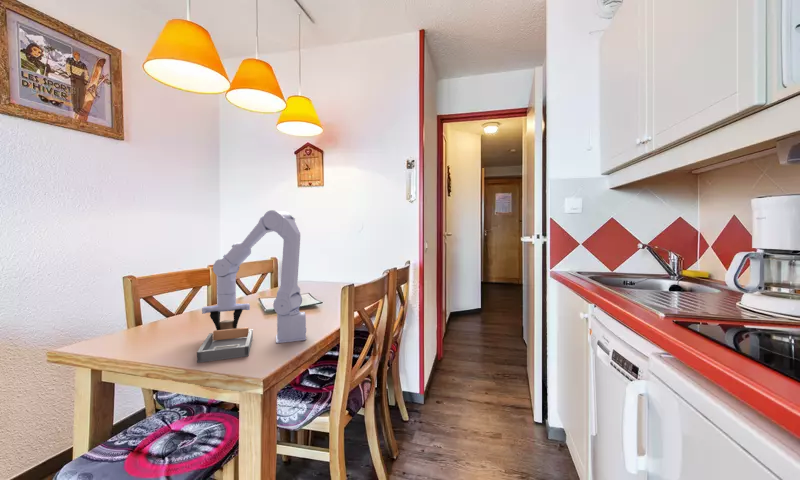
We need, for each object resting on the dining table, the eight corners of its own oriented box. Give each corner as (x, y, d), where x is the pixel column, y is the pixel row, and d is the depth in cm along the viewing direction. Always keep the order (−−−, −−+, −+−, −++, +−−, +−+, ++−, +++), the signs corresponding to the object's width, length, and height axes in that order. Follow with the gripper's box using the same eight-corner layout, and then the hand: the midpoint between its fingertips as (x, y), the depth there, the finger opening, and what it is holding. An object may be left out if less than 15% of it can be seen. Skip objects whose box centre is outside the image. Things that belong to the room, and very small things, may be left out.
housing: (252, 337, 108) (252, 329, 108) (248, 356, 92) (248, 346, 92) (209, 342, 103) (209, 333, 103) (197, 362, 87) (197, 352, 87)
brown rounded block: (234, 333, 112) (234, 319, 112) (233, 337, 108) (233, 322, 108) (220, 334, 111) (220, 320, 110) (218, 338, 106) (218, 324, 106)
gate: (248, 335, 107) (248, 327, 107) (248, 336, 106) (248, 328, 106) (213, 339, 103) (213, 330, 103) (213, 340, 103) (213, 331, 102)
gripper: (250, 289, 115) (250, 326, 116) (205, 292, 110) (205, 330, 110) (248, 293, 109) (249, 332, 109) (200, 296, 103) (200, 336, 104)
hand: (227, 331), depth 109 cm, fingers closed on brown rounded block, 4 cm apart
